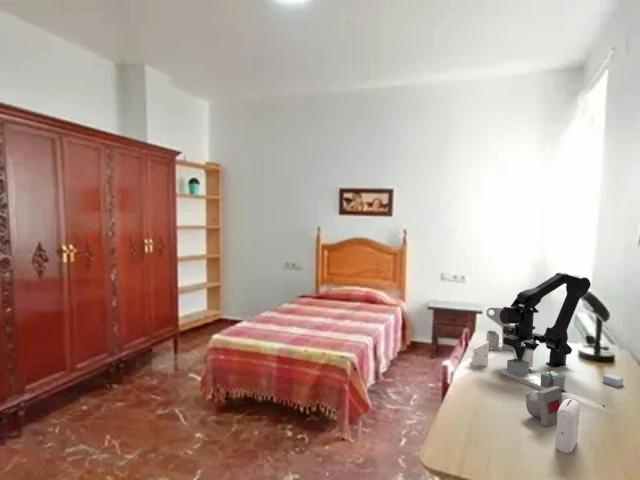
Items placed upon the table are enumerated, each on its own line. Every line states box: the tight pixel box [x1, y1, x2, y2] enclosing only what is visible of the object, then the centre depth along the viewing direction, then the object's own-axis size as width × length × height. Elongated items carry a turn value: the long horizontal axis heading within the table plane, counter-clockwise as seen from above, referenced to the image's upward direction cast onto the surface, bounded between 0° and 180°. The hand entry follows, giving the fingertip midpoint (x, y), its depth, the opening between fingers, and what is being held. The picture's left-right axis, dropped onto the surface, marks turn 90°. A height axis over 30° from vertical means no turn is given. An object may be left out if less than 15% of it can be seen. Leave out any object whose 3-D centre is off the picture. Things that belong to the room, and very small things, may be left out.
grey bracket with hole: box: [485, 307, 525, 352], centre depth 212 cm, size 17×10×18 cm, turn 80°
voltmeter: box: [524, 369, 564, 427], centre depth 144 cm, size 27×11×10 cm, turn 158°
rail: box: [501, 358, 566, 394], centre depth 168 cm, size 7×22×6 cm, turn 26°
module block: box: [513, 348, 535, 368], centre depth 184 cm, size 4×6×7 cm, turn 26°
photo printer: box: [554, 398, 580, 454], centre depth 122 cm, size 10×4×12 cm, turn 140°
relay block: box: [602, 373, 624, 388], centre depth 166 cm, size 5×4×4 cm
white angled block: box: [471, 341, 490, 367], centre depth 187 cm, size 4×10×9 cm, turn 84°
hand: (523, 360), depth 185 cm, fingers closed on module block, 4 cm apart
